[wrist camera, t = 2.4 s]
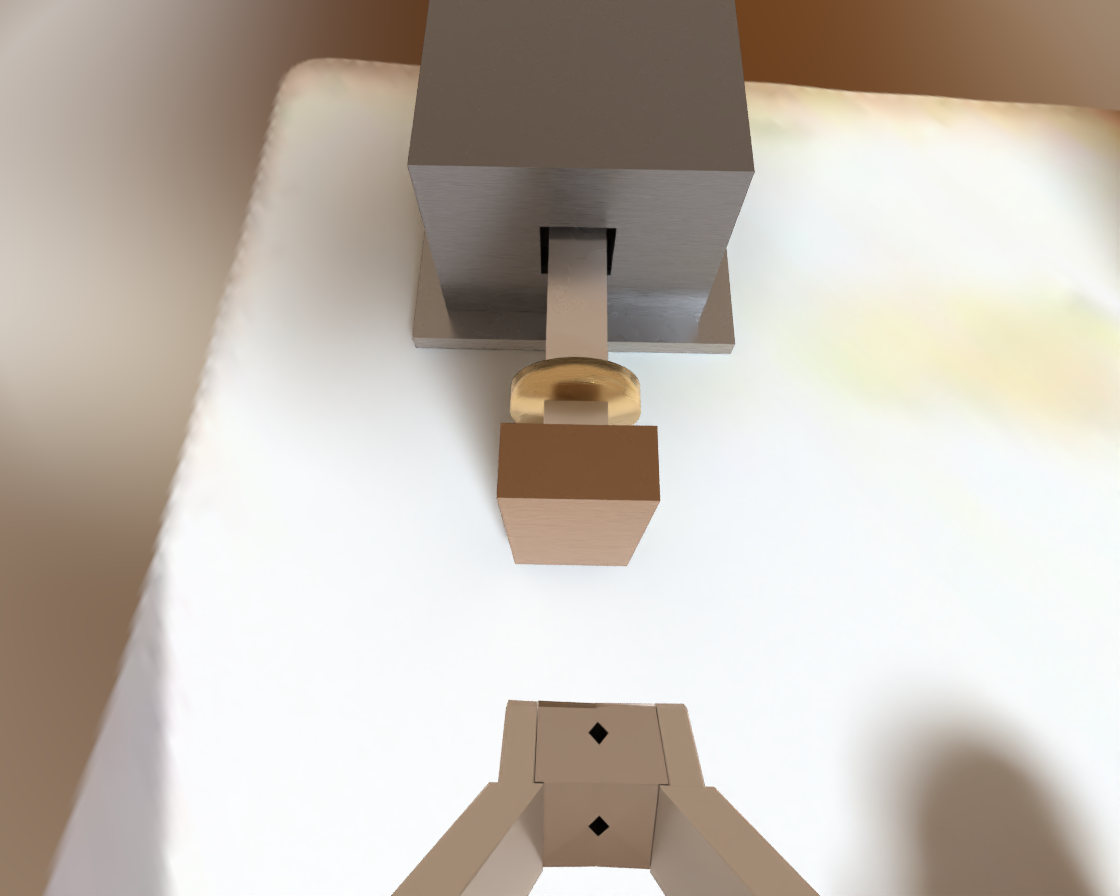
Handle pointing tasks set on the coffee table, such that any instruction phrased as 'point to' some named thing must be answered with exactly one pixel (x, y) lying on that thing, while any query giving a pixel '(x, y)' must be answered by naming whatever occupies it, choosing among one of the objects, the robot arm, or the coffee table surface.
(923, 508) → the coffee table surface
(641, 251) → the bearing block
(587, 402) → the shaft
